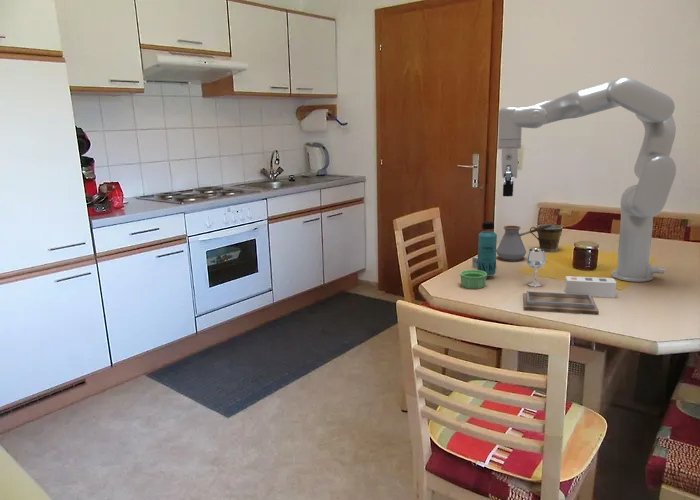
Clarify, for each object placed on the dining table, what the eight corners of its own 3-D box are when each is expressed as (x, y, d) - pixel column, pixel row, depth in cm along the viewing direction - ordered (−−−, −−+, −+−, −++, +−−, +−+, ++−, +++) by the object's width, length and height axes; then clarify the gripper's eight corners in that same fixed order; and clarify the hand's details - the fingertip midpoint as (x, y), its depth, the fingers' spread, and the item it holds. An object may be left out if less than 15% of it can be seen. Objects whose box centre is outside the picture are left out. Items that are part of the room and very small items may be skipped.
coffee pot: (492, 260, 207) (493, 223, 203) (501, 253, 216) (502, 218, 212) (547, 266, 195) (549, 227, 191) (555, 259, 204) (557, 222, 201)
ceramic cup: (563, 248, 220) (564, 225, 218) (558, 253, 212) (559, 229, 210) (532, 245, 227) (532, 223, 225) (526, 250, 219) (527, 227, 216)
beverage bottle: (474, 275, 188) (475, 220, 183) (492, 274, 188) (493, 219, 184) (480, 280, 182) (481, 224, 177) (498, 279, 182) (500, 223, 177)
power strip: (612, 293, 164) (613, 278, 163) (615, 298, 159) (616, 282, 158) (564, 290, 168) (565, 275, 167) (566, 295, 164) (567, 280, 162)
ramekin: (454, 284, 179) (454, 271, 178) (476, 280, 183) (476, 268, 182) (470, 291, 171) (470, 278, 170) (492, 286, 175) (492, 274, 174)
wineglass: (535, 288, 171) (536, 253, 168) (522, 283, 176) (523, 249, 173) (547, 285, 174) (549, 250, 171) (534, 280, 179) (536, 247, 176)
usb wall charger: (472, 267, 199) (472, 256, 198) (485, 264, 202) (485, 254, 201) (479, 269, 195) (479, 259, 194) (493, 266, 199) (493, 256, 198)
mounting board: (591, 299, 159) (592, 292, 158) (598, 314, 147) (599, 307, 146) (523, 295, 164) (523, 289, 164) (524, 310, 152) (524, 302, 152)
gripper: (521, 145, 168) (519, 197, 172) (521, 142, 184) (519, 190, 188) (497, 146, 170) (495, 197, 175) (499, 143, 186) (497, 190, 190)
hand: (508, 194), depth 181 cm, fingers open, 9 cm apart
